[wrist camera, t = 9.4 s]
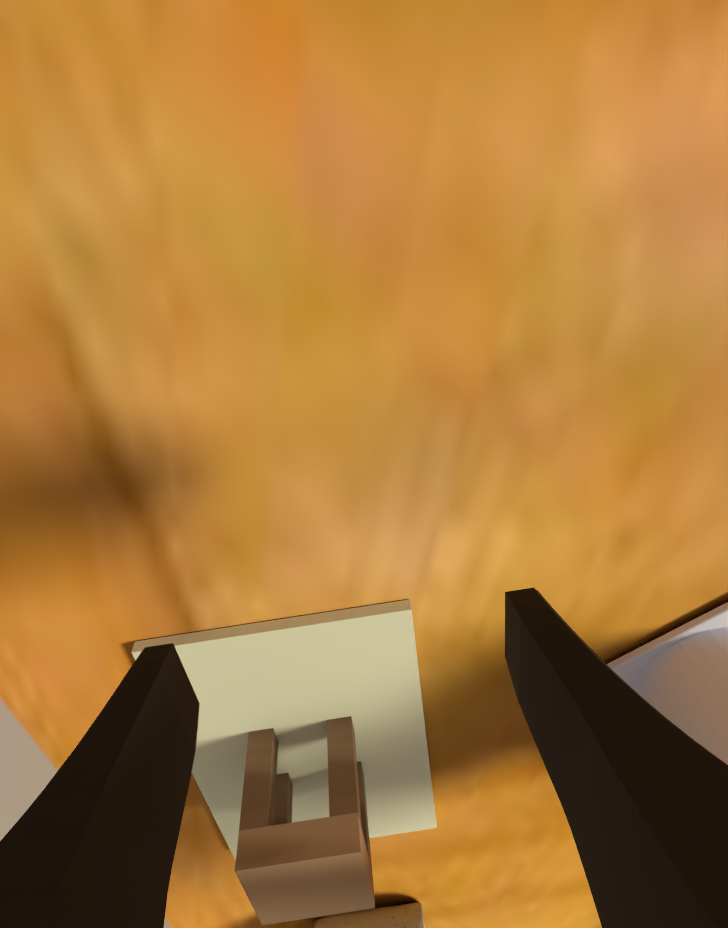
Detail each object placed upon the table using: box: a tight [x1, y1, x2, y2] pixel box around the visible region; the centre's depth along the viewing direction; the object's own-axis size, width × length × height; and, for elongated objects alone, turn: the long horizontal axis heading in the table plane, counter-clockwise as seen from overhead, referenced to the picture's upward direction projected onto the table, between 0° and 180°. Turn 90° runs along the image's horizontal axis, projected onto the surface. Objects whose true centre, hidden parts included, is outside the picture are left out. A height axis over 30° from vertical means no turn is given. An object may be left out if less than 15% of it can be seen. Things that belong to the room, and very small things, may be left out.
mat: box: [131, 600, 437, 859], centre depth 29 cm, size 18×12×1 cm, turn 7°
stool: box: [235, 716, 375, 925], centre depth 26 cm, size 5×5×6 cm
